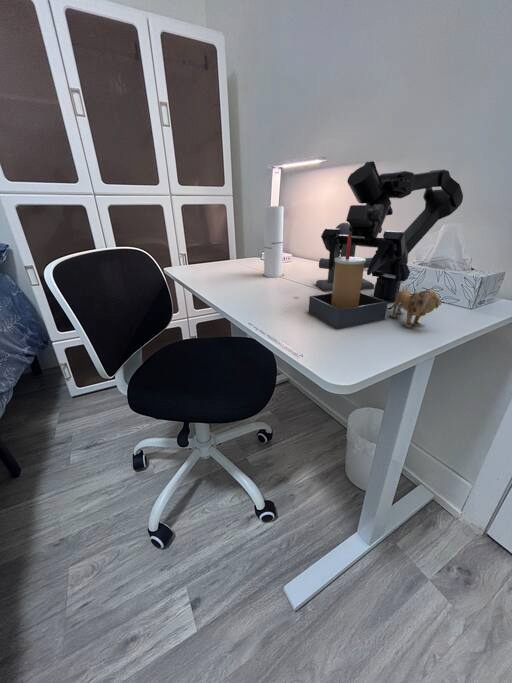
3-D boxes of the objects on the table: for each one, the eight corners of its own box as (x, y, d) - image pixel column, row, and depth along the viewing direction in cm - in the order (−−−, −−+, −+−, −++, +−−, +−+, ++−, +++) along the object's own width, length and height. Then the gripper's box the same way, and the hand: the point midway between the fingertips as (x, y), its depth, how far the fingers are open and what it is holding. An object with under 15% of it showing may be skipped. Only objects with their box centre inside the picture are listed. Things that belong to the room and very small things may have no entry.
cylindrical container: (282, 277, 113) (284, 206, 102) (264, 277, 113) (264, 206, 102) (281, 272, 120) (282, 206, 109) (264, 273, 120) (263, 206, 109)
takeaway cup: (346, 307, 78) (356, 232, 70) (363, 316, 72) (376, 234, 64) (324, 311, 76) (331, 233, 68) (339, 320, 70) (349, 236, 62)
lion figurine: (438, 331, 64) (449, 291, 60) (417, 334, 63) (427, 293, 59) (395, 310, 77) (402, 276, 73) (377, 311, 76) (383, 277, 72)
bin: (351, 305, 81) (353, 289, 79) (384, 319, 71) (388, 301, 69) (308, 312, 76) (309, 296, 74) (337, 329, 66) (339, 310, 64)
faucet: (354, 277, 111) (362, 220, 102) (375, 288, 96) (385, 223, 88) (308, 279, 109) (312, 222, 100) (322, 291, 94) (328, 225, 86)
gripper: (328, 192, 69) (301, 245, 66) (413, 189, 58) (386, 252, 55) (338, 225, 78) (315, 274, 75) (414, 228, 67) (391, 284, 64)
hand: (348, 271), depth 67 cm, fingers open, 9 cm apart
